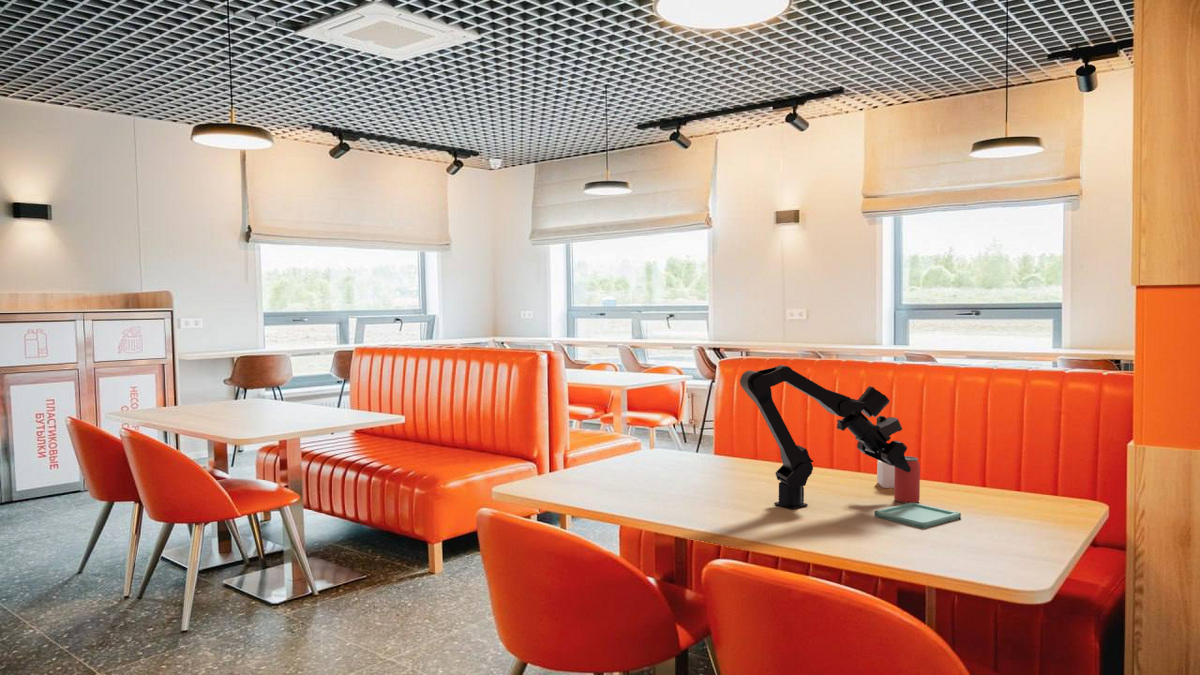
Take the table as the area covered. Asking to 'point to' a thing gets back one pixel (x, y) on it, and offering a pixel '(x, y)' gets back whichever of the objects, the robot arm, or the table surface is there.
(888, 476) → the medicine bottle
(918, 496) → the beer can
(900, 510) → the tray
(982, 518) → the table surface
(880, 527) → the table surface
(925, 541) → the table surface
